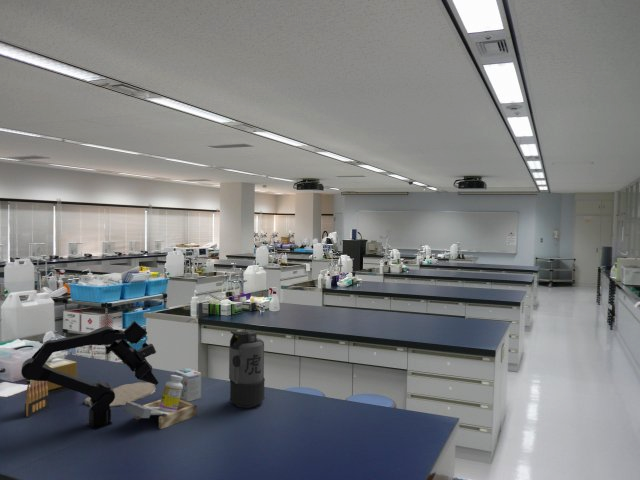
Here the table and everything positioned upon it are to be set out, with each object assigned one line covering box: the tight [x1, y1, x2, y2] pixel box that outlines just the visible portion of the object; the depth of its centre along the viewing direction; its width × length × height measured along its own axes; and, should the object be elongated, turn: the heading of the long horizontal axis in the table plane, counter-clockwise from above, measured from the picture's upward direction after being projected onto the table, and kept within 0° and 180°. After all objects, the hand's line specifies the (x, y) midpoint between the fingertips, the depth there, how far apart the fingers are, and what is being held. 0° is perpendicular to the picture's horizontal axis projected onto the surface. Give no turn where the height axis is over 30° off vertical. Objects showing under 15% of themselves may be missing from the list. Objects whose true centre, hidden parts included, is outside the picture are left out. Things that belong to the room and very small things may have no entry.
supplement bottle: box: [159, 374, 183, 412], centre depth 184 cm, size 7×7×13 cm
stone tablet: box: [84, 381, 157, 408], centre depth 203 cm, size 16×30×2 cm, turn 150°
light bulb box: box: [174, 367, 202, 403], centre depth 204 cm, size 11×7×11 cm, turn 47°
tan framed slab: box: [134, 399, 198, 430], centre depth 182 cm, size 16×16×5 cm
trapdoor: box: [123, 401, 171, 419], centre depth 178 cm, size 20×12×3 cm, turn 144°
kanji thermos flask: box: [228, 329, 265, 409], centre depth 197 cm, size 14×14×30 cm
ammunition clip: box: [24, 381, 50, 418], centre depth 185 cm, size 11×2×12 cm, turn 171°
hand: (155, 381), depth 182 cm, fingers open, 9 cm apart
